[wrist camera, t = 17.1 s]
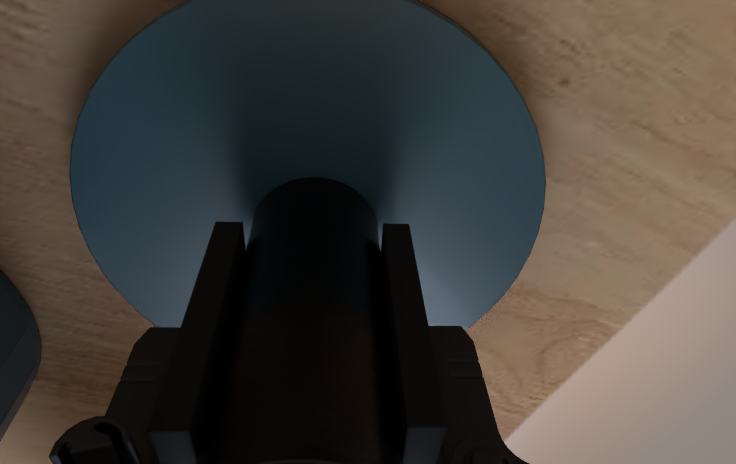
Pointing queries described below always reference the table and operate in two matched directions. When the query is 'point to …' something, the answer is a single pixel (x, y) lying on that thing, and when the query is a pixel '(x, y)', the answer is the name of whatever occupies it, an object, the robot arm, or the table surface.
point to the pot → (15, 351)
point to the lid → (307, 200)
